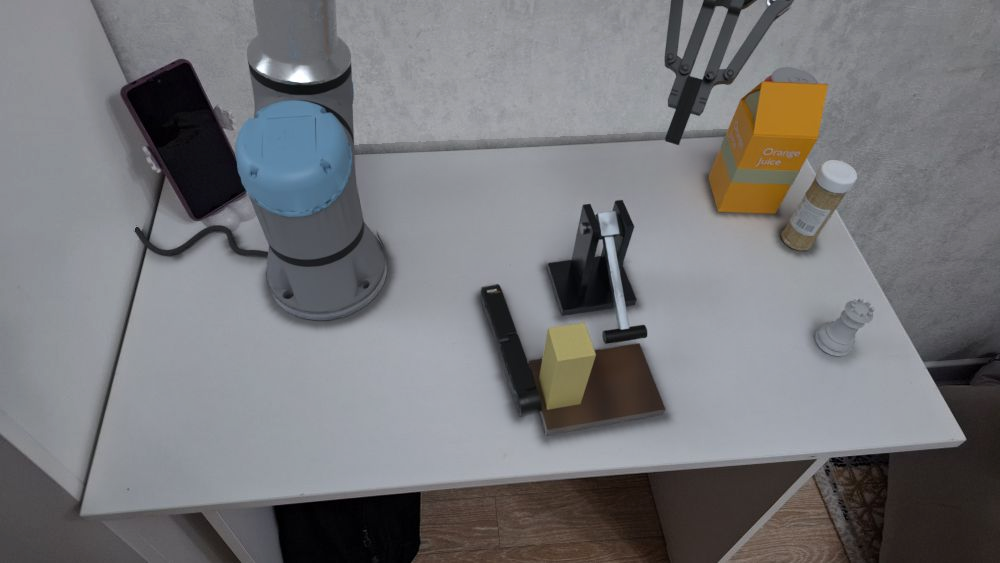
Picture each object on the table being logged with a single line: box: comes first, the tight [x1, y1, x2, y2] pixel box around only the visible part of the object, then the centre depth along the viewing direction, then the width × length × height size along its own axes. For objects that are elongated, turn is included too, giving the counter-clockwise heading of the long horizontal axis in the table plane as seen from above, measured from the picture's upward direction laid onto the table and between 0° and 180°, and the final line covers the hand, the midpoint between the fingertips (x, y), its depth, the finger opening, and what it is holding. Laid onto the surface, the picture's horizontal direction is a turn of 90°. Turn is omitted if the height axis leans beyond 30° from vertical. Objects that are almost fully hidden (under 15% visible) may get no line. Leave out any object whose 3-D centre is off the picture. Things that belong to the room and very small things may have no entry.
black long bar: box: [480, 283, 542, 417], centre depth 75 cm, size 18×3×3 cm, turn 16°
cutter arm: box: [595, 210, 648, 345], centre depth 73 cm, size 15×5×2 cm, turn 11°
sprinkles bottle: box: [780, 159, 858, 252], centre depth 84 cm, size 5×5×13 cm
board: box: [528, 343, 666, 436], centre depth 73 cm, size 14×9×2 cm, turn 101°
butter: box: [539, 322, 596, 410], centre depth 67 cm, size 4×4×11 cm
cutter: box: [546, 199, 637, 317], centre depth 77 cm, size 8×10×14 cm
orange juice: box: [707, 80, 829, 215], centre depth 87 cm, size 8×9×20 cm
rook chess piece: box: [814, 297, 875, 357], centre depth 76 cm, size 4×4×8 cm
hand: (672, 141), depth 65 cm, fingers closed
